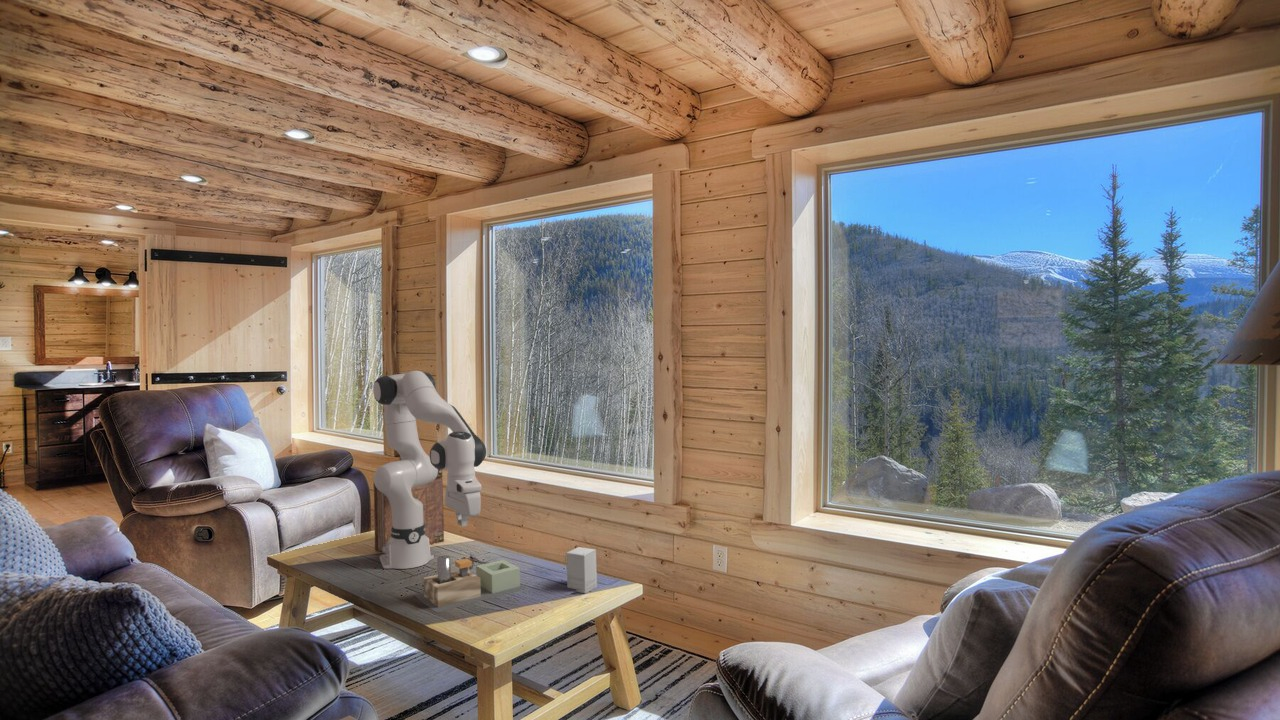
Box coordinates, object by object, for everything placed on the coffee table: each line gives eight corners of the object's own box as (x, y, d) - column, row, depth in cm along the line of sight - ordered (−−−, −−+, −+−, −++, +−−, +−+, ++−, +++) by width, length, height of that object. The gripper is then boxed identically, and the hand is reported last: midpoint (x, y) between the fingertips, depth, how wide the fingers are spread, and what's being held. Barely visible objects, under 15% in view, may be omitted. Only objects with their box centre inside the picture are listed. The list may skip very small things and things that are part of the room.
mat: (414, 597, 219) (413, 594, 219) (501, 576, 238) (501, 573, 238) (436, 615, 204) (436, 612, 204) (528, 591, 223) (527, 588, 223)
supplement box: (597, 586, 226) (597, 549, 225) (584, 594, 219) (584, 555, 219) (579, 583, 229) (578, 546, 229) (566, 590, 223) (565, 552, 223)
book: (385, 555, 264) (383, 479, 264) (374, 550, 271) (372, 476, 270) (444, 541, 282) (442, 469, 282) (433, 537, 289) (431, 467, 288)
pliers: (478, 572, 241) (448, 561, 254) (478, 575, 241) (448, 563, 254) (501, 565, 248) (470, 555, 261) (501, 568, 248) (470, 557, 261)
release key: (455, 577, 219) (455, 560, 219) (467, 575, 222) (466, 558, 222) (460, 581, 216) (460, 564, 216) (472, 578, 219) (471, 561, 219)
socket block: (423, 596, 217) (423, 577, 217) (465, 586, 226) (464, 568, 226) (438, 607, 208) (437, 588, 208) (480, 596, 216) (480, 577, 216)
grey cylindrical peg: (436, 594, 216) (435, 557, 215) (448, 591, 218) (447, 554, 218) (440, 598, 212) (440, 560, 212) (453, 595, 215) (452, 557, 215)
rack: (476, 583, 228) (476, 565, 228) (503, 576, 234) (503, 559, 234) (492, 593, 219) (491, 574, 219) (520, 586, 225) (519, 568, 225)
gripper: (439, 479, 225) (440, 520, 225) (464, 489, 208) (465, 533, 209) (457, 476, 229) (458, 517, 229) (484, 486, 212) (485, 530, 213)
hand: (462, 525), depth 219 cm, fingers closed
